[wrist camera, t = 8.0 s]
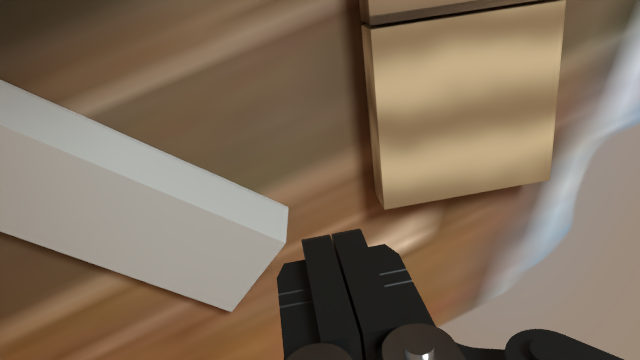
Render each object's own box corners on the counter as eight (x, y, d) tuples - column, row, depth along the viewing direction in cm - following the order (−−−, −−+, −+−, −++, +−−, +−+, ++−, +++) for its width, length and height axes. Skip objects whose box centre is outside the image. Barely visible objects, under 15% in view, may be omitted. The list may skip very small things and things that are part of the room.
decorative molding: (238, 270, 46) (288, 202, 41) (231, 312, 42) (285, 243, 37) (-184, 109, 35) (-191, -12, 30) (-245, 145, 31) (-265, 15, 26)
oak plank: (361, 24, 35) (370, 30, 32) (541, -3, 36) (565, 0, 33) (375, 193, 41) (384, 209, 38) (530, 166, 42) (549, 180, 39)
